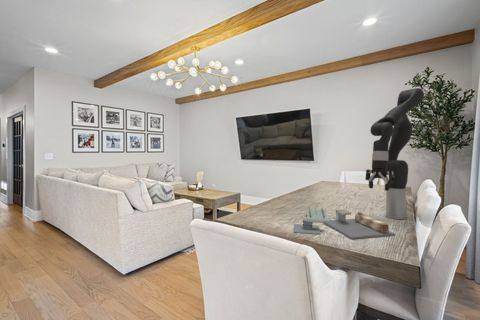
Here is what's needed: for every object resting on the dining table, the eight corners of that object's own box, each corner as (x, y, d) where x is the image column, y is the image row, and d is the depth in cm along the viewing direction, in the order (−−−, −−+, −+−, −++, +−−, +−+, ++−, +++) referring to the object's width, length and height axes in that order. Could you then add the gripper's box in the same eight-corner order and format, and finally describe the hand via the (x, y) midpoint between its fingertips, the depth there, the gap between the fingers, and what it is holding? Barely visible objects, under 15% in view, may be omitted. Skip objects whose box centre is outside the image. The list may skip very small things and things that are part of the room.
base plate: (358, 220, 128) (358, 208, 128) (394, 235, 104) (395, 221, 104) (322, 222, 124) (322, 211, 124) (351, 239, 100) (351, 225, 100)
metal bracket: (302, 205, 141) (328, 206, 138) (302, 213, 143) (327, 214, 140) (304, 218, 128) (332, 219, 125) (304, 227, 130) (332, 228, 127)
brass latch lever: (353, 220, 123) (353, 213, 123) (360, 220, 124) (360, 213, 124) (381, 233, 104) (381, 225, 104) (389, 232, 105) (389, 224, 105)
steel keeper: (343, 220, 125) (343, 209, 124) (351, 224, 118) (351, 212, 118) (335, 221, 124) (335, 210, 124) (343, 224, 117) (343, 213, 117)
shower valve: (326, 224, 106) (293, 222, 110) (326, 236, 106) (293, 233, 110) (323, 217, 118) (293, 215, 122) (323, 227, 118) (294, 225, 122)
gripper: (398, 160, 119) (396, 191, 120) (371, 159, 132) (370, 187, 132) (389, 159, 116) (387, 191, 116) (363, 159, 129) (362, 187, 129)
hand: (378, 189), depth 124 cm, fingers open, 8 cm apart
